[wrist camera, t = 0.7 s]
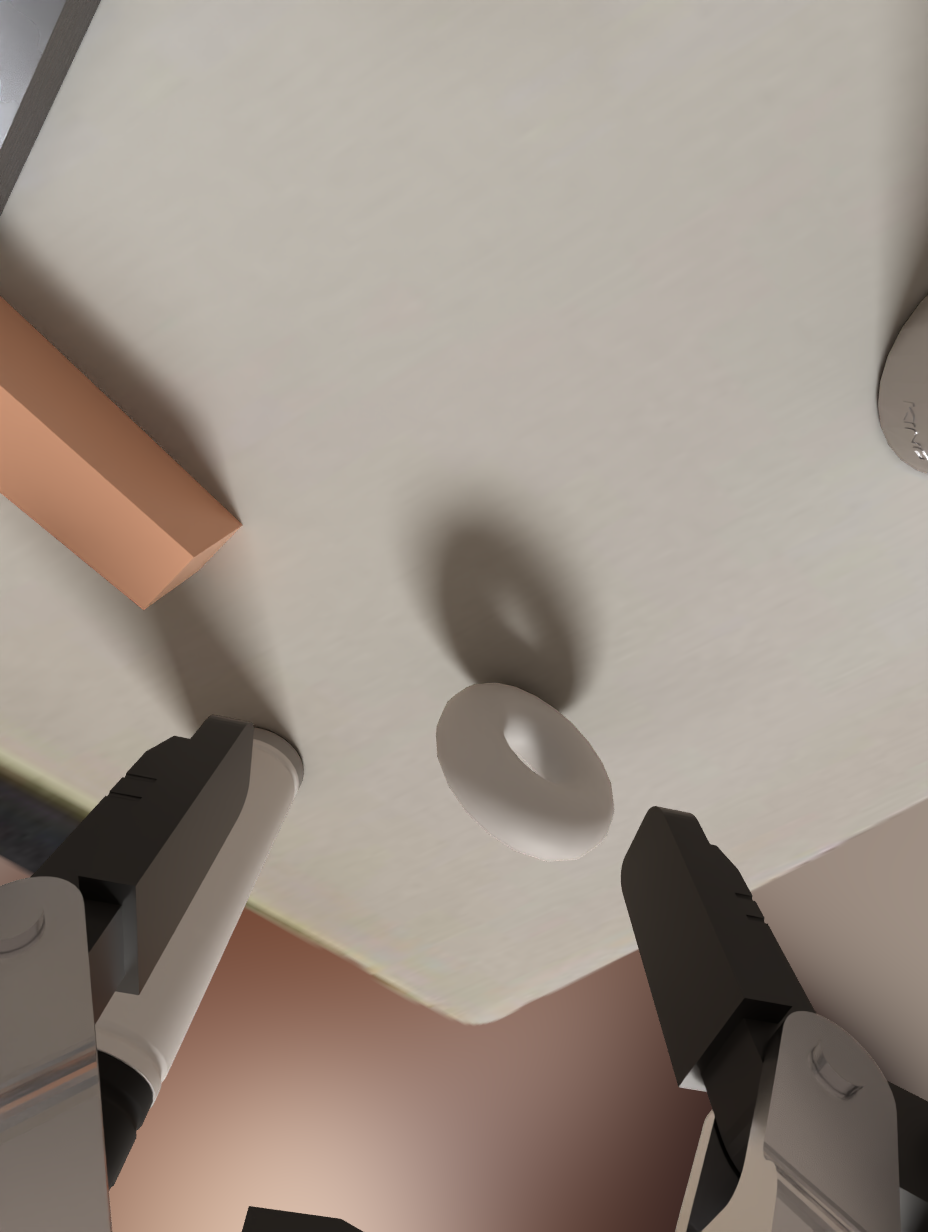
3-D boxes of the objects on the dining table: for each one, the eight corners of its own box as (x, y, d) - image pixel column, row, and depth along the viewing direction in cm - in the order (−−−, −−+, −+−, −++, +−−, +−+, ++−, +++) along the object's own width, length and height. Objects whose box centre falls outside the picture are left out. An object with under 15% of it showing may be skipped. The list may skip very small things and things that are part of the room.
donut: (607, 722, 31) (652, 871, 22) (572, 759, 32) (601, 913, 23) (465, 641, 29) (450, 769, 20) (434, 684, 30) (407, 821, 22)
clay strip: (-8, 285, 23) (-132, 268, 18) (244, 523, 27) (193, 557, 22) (-47, 352, 24) (-171, 352, 20) (199, 569, 28) (143, 610, 24)
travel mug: (238, 704, 32) (-92, 1146, 14) (324, 763, 34) (127, 1223, 16) (188, 758, 34) (-151, 1198, 16) (270, 811, 36) (47, 1260, 18)
